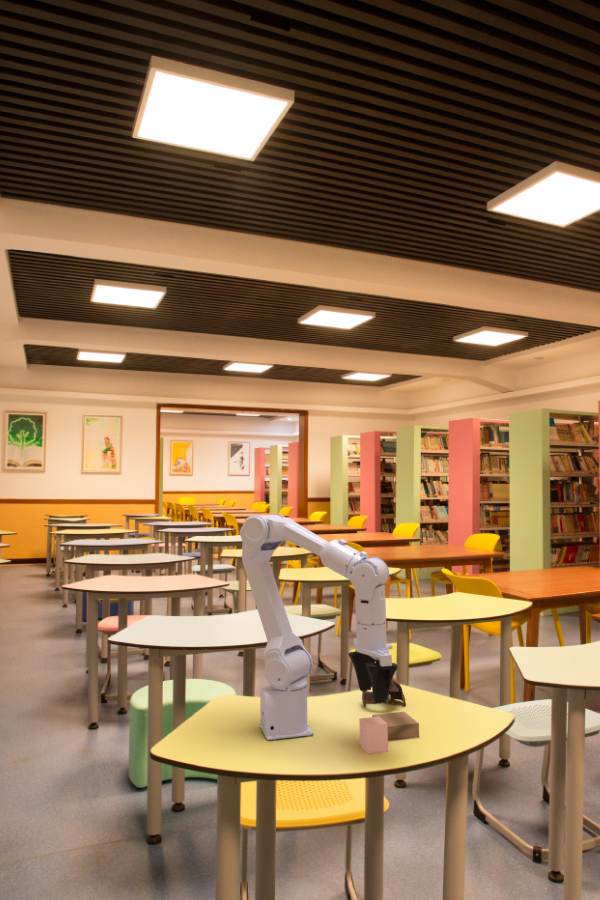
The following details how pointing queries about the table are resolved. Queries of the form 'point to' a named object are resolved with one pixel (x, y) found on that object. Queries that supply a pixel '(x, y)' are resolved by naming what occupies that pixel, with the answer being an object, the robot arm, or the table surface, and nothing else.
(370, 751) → the pink block
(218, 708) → the table surface
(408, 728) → the brown block
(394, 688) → the brown curved piece
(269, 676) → the robot arm
